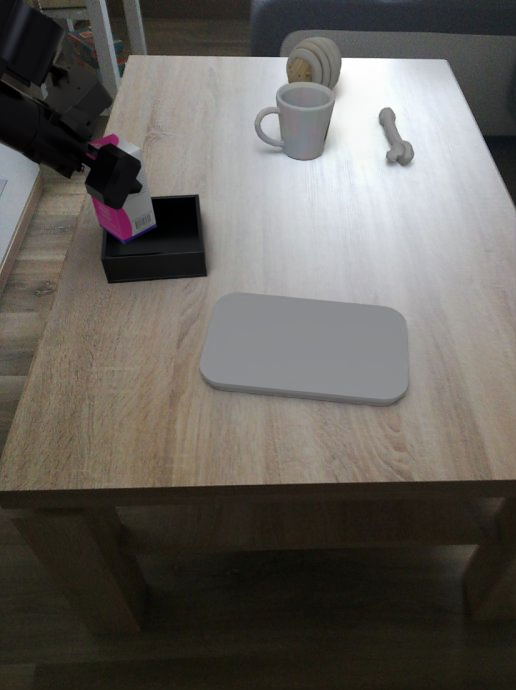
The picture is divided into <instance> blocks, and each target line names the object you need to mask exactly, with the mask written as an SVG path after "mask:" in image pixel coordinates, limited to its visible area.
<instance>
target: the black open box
mask: <svg viewBox="0 0 516 690" xmlns="http://www.w3.org/2000/svg"><path fill="white" fill-rule="evenodd" d="M150 197H151V201H152V206H153V211H154V216H155V221H156V226H157V227H155V228H153V229H152V230H150V231H148V232H146V233H144V234H142V235H140V236H138V237H136V238H134V239H133V240H131V241H129V242H127V243H125V244H123V243H122V242H121V241H120V240H118V239H117V238H116V237H114V236H113V235H112V234H110V233H109V232H107V231H106V230H105V229H103V228H102V234H101V235H102V237H101V249H100V250H101V251H100V261H101V265H102V269H103V272H104V274H105V278H106V282H107V284H108V285H111V284H121V283H122V284H123V283H137V282H138V283H139V282H149V281H163V280H164V281H165V280H176V279H177V280H178V279H191V278H203V277H208V271H207V269H208V268H207V260H206V249H205V239H204V231H203V220H202V219H203V218H202V210H201V202H200V200H201V199H200V194H199V193H195V194H194V193H193V194H177V195H176V194H175V195H159V196H150Z"/></svg>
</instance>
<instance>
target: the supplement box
mask: <svg viewBox="0 0 516 690" xmlns="http://www.w3.org/2000/svg"><path fill="white" fill-rule="evenodd" d="M88 143H89V144H91V145H93V146H94V147H96V148H97V149H99V148H100V147H101V146H104V145H106V144H108V143H112V144H114V145H115V146H117V147H119V148H120V149H122V150H124V151H125V152H127V153H128V154H130V155H132V156H133V157H135V158H137V159H138V160H140V161H141V167H142V168H141V170H140V172H139V174H138V176H137V178H136V179H137V180H138V181H139V182H140V183H141V184H142V185H143V187H142V189H141V191H140V193H136V194H129V195H128V197H127V199H126V201H125V203H124V205H123V207H122V208H121V209H119V210H115V209H113V208H110V207H108V206H106V205H104V204H103V203H101V202H100V201H98V200H97V199H95V198H94V197H92V196H91V195H90V197H91V202H92V205H93V207H94V211H95V215H96V218H97V222H98V225H99V227H100V228H102V230H103V229H105V230H106V231H107V232H109V233H110V234H112V235H113V236H114V237H116V238H117V239H118V240H120V241H121V242H122V243H123V244H125V243H127V242H129V241H131V240H133V239H134V238H136V237H138V236H140V235H142V234H144V233H146V232H148V231H150V230H152V229H153V228H155V227H157V226H156V221H155V216H154V211H153V206H152V201H151V197H152V196H151V192H150V187H149V182H148V178H147V172H146V167H145V162H144V158H143V152H142V148H140V146H138V145H136V144H134V143H132V142H130V141H129V140H126V139H125V138H123V137H121V135H118V134H117V133H115V132H113V133H111V134H108V135H106V136H103V137H101V138H98V139H96V140H94V141H92V142H91V141H90V142H88ZM86 155H88V156H90V157H91V158H93V159H94V160H95V157H93V156H92V155H90V154H89V153H87V154H86ZM82 165H83V166H85V168H84V172H83V173H84V174H83V175H84V177H85V179H86V178H87V176H88V174H89V171H90V169H91V168H89V167H88V166H86V165H85V164H83V163H82Z"/></svg>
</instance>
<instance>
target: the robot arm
mask: <svg viewBox="0 0 516 690" xmlns="http://www.w3.org/2000/svg"><path fill="white" fill-rule="evenodd" d="M66 33H67V31H66V29H65V28H63V26H61V25H60V24H59V23H58V22H56V21H55V20H53V19H52V18H51V17H50V16H48V15H47V14H45V13H43V12H42V11H41V12H40V11H39V10H37V9H35V8H33V7H32V6H30V5H29V4H27V3H26V2H24V1H22V0H0V144H1V145H2V146H5V147H7V148H9V149H11V150H13V151H15V152H17V153H19V154H21V155H22V156H23V157H25V158H27V159H28V160H29V161H31V162H33V163H35V164H37V165H41V164H42V165H44V166H46V167H48V168H50V169H51V170H53V171H55V172H56V173H57V174H60V175H61V176H62V177H63V178H66V179H68V180H71V178H72V176H73V174H74V172H77V174H81V175H82V174H83V173H84V168H85V166H83V165H82V163H83V164H85V165H86V166H88V167H89V168H91V169H90V171H89V174H88V176H87V178H86V177H85V180H84V187H85V189H86V193H87V194H88V195H90V197H91V196H92V197H94V198H95V199H97V200H98V201H100V202H101V203H103V204H104V205H106V206H108V207H110V208H113V209H115V210H119V209H121V208H122V207H123V205H124V203H125V201H126V199H127V197H128V195H129V194H136V193H140V191H141V189H142V187H143V185H142V184H141V183H140V182H139V181H138V180H137V179H136V178H137V176H138V174H139V172H140V170H141V168H142V167H141V161H140V160H138V159H137V158H135V157H133V156H132V155H130V154H128V153H127V152H125V151H124V150H122V149H120V148H119V147H117V146H115V145H114V144H112V143H108V144H106V145H104V146H101V147H100V148H99V149H97V148H96V147H94V146H93V145H91V144H89V143H91V141H92V139H93V136H94V134H95V131H93V130H92V129H90V128H88V127H89V126H91V125H93V123H94V122H95V121H96V120H97V119H99V117H100V116H101V115H102V114H103V113H104V112H105V111H106V110H109V109H110V108H111V106H112V105H113V102H114V98H113V97H112V96H111V94H110V92H109V91H108V89H107V88H106V87H105V85H104V83H103V82H102V81H101V79H100V78H99V76H98V74H96V73H94V72H93V71H91V70H89V69H87V68H85V67H83V66H81V65H79V64H78V65H77V64H76V65H72V64H71V63H68V64H67V65H66V67H67V69H66V68H64V67H62V66H60V65H58V64H56V63H54V62H55V60H56V57H57V54H58V53H59V49H60V47H61V46H62V43H63V40H64V38H65V35H66ZM4 74H5V75H7V76H8V77H10V78H11V79H13V80H15V81H16V82H18V83H20V84H22V85H23V86H24V87H26V88H28V89H30V88H31V86H32V84H33V85H35V86H36V87H38V88H42V85H45V91H46V92H47V95H46V97H45V98H44V99H43V100H42V99H41V98H39V97H37V96H36V95H34V94H33V95H32V96H30V95H28V94H26V93H25V92H23V91H21V90H19V89H18V88H16V87H14V86H13V85H11V84H10V83H8V82H6V81H5V80H3V79H2V78H3V76H4ZM87 153H89V154H90V155H92V156H93V157H95V160H94V159H93V158H91V157H90V156H88V155H86V154H87Z"/></svg>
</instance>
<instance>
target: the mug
mask: <svg viewBox="0 0 516 690" xmlns="http://www.w3.org/2000/svg"><path fill="white" fill-rule="evenodd" d="M275 92H276V93H275V102H276V106H267V107H265V108H263V109H260V111H259V112H258V113H257V114H256V117H255V119H254V122H253V125H254V130H255V133H256V135H257V137H258V138H259V139H260V140H261V141H263V142H264V143H265V144H267V145H270V146H273V147H278V148H282V150H283V151H284V153H285V155H287V156H288V157H290V158H292V159H295V160H299V161H310V160H314V159H317V158H318V157H320V156H321V155H322V154H323V152H324V150H325V145H326V142H327V137H328V133H329V130H330V129H329V128H330V125H331V122H332V121H331V120H332V116H333V111H334V107H335V104H336V94H335V93H334V90H333V91H332V90H330V89H329V88H328V87H326V86H323V85H321V84H317V83H312V82H294V83H290V84H289V83H286V84H284V85H283V86H282V85H281V86H280V87H279V88H278V89H277V90H276V91H275ZM272 114H273V115H277V116H278V123H279V132H280V139H281V140H278V139H274V138H271V136H268V135H267V134H266V133H265V132H264V131H263V128H262V125H261V123H262V121H263V119H264V118H265V117H266V116H268V115H272Z"/></svg>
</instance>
